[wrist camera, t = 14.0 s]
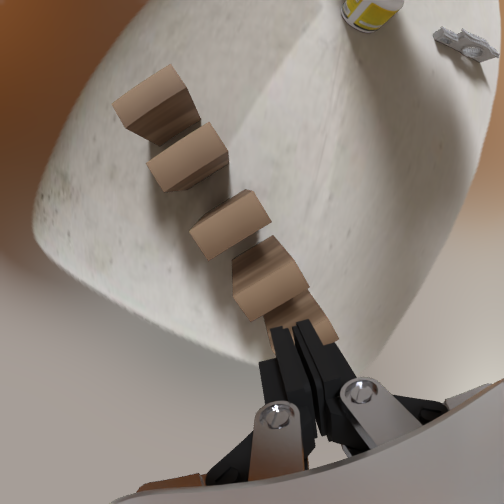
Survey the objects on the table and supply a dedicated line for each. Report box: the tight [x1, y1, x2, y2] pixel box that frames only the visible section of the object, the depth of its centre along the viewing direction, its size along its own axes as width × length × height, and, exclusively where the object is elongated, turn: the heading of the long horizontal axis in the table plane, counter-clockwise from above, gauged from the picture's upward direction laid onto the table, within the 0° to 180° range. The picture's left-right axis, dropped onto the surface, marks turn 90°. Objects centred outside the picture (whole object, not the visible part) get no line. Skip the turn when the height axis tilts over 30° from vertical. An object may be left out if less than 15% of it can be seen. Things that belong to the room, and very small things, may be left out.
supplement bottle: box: [341, 0, 404, 33], centre depth 18 cm, size 5×5×10 cm
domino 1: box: [112, 64, 201, 146], centre depth 21 cm, size 2×5×10 cm, turn 121°
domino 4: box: [232, 235, 309, 322], centre depth 25 cm, size 2×5×10 cm, turn 121°
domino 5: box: [263, 289, 339, 355], centre depth 26 cm, size 2×5×10 cm, turn 121°
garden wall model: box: [433, 26, 500, 62], centre depth 21 cm, size 12×2×6 cm, turn 92°
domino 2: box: [146, 122, 229, 192], centre depth 22 cm, size 2×5×10 cm, turn 121°
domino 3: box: [189, 189, 272, 261], centre depth 23 cm, size 2×5×10 cm, turn 121°
